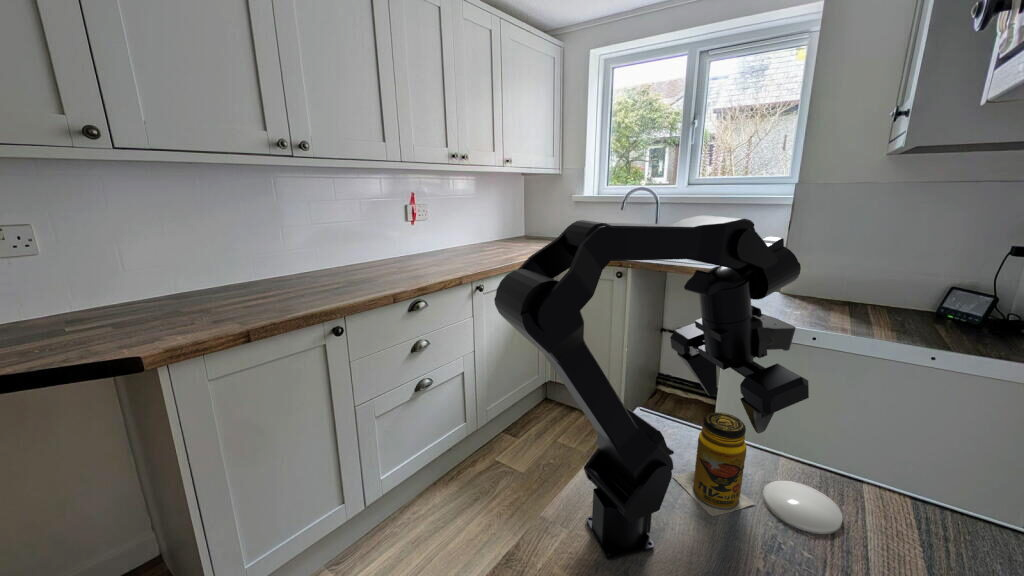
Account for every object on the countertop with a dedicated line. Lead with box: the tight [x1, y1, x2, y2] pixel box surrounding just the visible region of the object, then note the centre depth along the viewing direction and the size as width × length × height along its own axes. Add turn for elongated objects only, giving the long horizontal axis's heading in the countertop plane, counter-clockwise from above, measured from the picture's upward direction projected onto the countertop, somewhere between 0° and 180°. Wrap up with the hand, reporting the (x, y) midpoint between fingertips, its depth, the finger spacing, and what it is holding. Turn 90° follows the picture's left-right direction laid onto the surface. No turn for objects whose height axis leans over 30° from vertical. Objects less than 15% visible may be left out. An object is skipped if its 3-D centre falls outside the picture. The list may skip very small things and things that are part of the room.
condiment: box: [672, 412, 756, 517], centre depth 61 cm, size 7×8×12 cm
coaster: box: [762, 480, 843, 535], centre depth 59 cm, size 9×9×1 cm
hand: (734, 411), depth 59 cm, fingers open, 9 cm apart
